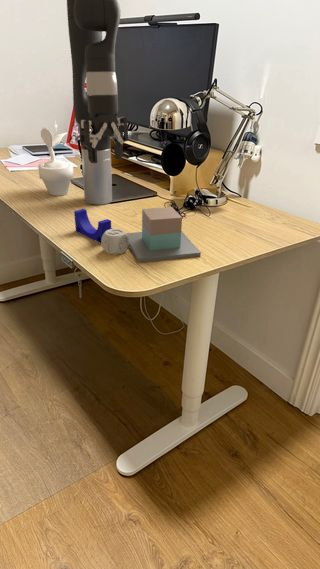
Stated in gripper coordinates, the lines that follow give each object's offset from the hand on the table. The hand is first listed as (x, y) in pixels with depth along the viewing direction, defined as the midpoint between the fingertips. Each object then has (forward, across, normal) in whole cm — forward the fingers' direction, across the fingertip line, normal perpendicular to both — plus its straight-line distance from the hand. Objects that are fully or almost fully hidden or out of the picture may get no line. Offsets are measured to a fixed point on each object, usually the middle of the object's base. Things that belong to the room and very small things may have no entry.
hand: (106, 160), depth 105 cm
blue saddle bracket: (+19, +6, +1) cm, 20 cm away
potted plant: (+16, -8, -37) cm, 41 cm away
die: (+20, +9, +12) cm, 25 cm away
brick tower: (+20, -1, +18) cm, 27 cm away
